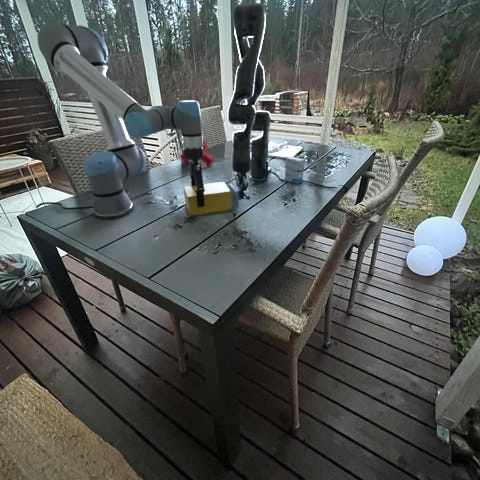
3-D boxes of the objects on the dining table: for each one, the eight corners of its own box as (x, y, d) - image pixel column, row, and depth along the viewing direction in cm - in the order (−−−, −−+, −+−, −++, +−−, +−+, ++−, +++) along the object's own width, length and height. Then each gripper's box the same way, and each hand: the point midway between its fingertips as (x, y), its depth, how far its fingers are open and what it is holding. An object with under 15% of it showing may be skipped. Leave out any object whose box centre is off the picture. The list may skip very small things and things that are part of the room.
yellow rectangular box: (224, 200, 123) (223, 181, 119) (231, 211, 114) (230, 191, 110) (185, 206, 119) (183, 186, 114) (190, 217, 110) (187, 196, 105)
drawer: (243, 196, 125) (243, 182, 121) (250, 205, 117) (251, 190, 113) (196, 202, 119) (195, 188, 115) (201, 212, 111) (200, 197, 107)
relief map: (291, 159, 177) (291, 151, 174) (243, 153, 190) (243, 145, 187) (302, 149, 197) (303, 142, 194) (258, 144, 211) (258, 137, 208)
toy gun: (217, 159, 166) (202, 137, 162) (214, 161, 163) (199, 139, 159) (198, 174, 176) (183, 154, 172) (195, 176, 173) (180, 156, 169)
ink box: (302, 181, 142) (305, 159, 136) (297, 184, 139) (300, 161, 133) (289, 177, 147) (291, 156, 141) (284, 180, 144) (285, 158, 138)
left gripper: (178, 140, 110) (185, 191, 122) (188, 156, 91) (194, 214, 103) (197, 139, 112) (201, 189, 124) (210, 154, 93) (213, 211, 105)
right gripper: (228, 155, 114) (228, 193, 124) (237, 164, 104) (237, 205, 113) (245, 153, 116) (244, 191, 126) (255, 162, 106) (254, 203, 115)
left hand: (198, 200), depth 113 cm, fingers closed on yellow rectangular box, 11 cm apart
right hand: (241, 198), depth 119 cm, fingers closed
